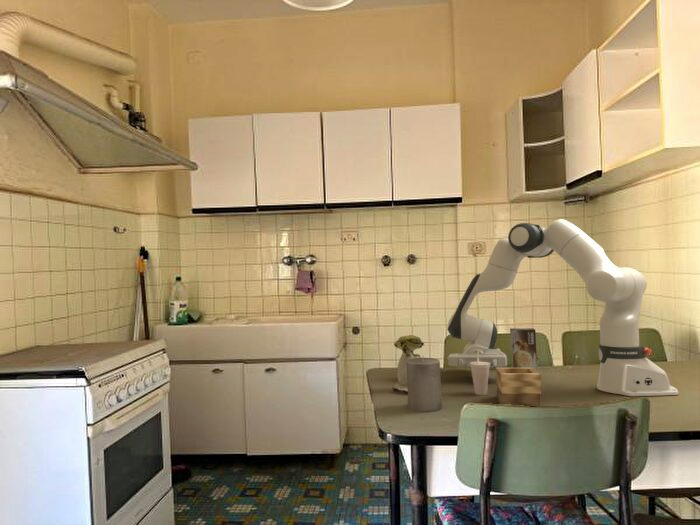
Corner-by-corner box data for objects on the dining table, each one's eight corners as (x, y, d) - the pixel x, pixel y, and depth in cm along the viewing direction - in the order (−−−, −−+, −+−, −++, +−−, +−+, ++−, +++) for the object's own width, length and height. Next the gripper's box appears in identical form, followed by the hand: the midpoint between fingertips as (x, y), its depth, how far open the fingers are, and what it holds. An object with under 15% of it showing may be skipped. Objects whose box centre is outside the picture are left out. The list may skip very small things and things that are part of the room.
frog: (412, 396, 163) (410, 338, 164) (385, 390, 174) (384, 335, 174) (438, 391, 170) (436, 335, 171) (411, 385, 181) (409, 332, 181)
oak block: (532, 385, 159) (532, 367, 159) (541, 393, 148) (540, 374, 148) (496, 385, 160) (495, 367, 160) (501, 393, 149) (501, 374, 149)
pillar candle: (423, 401, 157) (421, 352, 157) (449, 407, 149) (446, 355, 149) (401, 408, 150) (398, 356, 150) (426, 414, 143) (424, 360, 143)
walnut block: (534, 398, 158) (533, 385, 158) (540, 408, 148) (540, 394, 148) (497, 398, 160) (496, 385, 160) (500, 407, 150) (500, 393, 150)
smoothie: (470, 391, 169) (468, 348, 169) (490, 391, 168) (489, 348, 168) (470, 395, 163) (469, 351, 163) (491, 396, 161) (490, 351, 162)
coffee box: (535, 368, 204) (534, 327, 204) (537, 371, 198) (536, 329, 198) (511, 368, 206) (510, 328, 206) (512, 371, 200) (511, 329, 200)
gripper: (447, 348, 192) (446, 354, 178) (504, 348, 188) (508, 354, 175) (447, 365, 192) (447, 373, 178) (504, 366, 188) (509, 373, 174)
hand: (478, 363), depth 176 cm, fingers open, 8 cm apart
